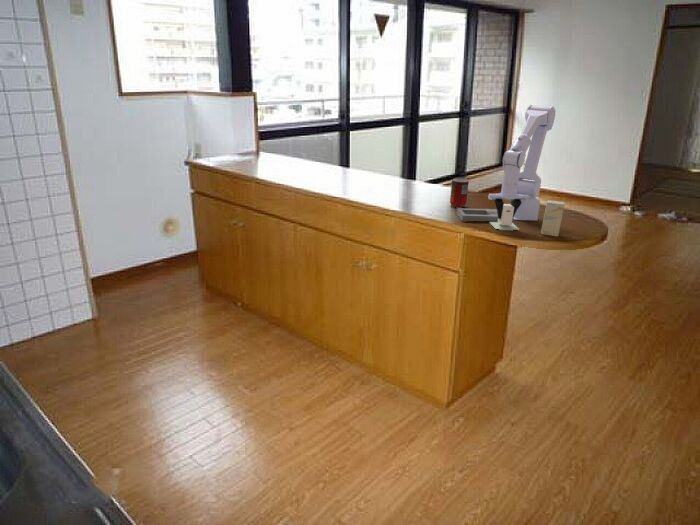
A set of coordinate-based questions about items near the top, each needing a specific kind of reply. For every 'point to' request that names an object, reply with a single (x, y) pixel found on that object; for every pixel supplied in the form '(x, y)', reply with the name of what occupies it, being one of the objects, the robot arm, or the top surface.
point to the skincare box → (552, 218)
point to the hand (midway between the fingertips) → (505, 218)
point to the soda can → (459, 192)
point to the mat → (503, 226)
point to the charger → (506, 215)
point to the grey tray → (478, 214)
